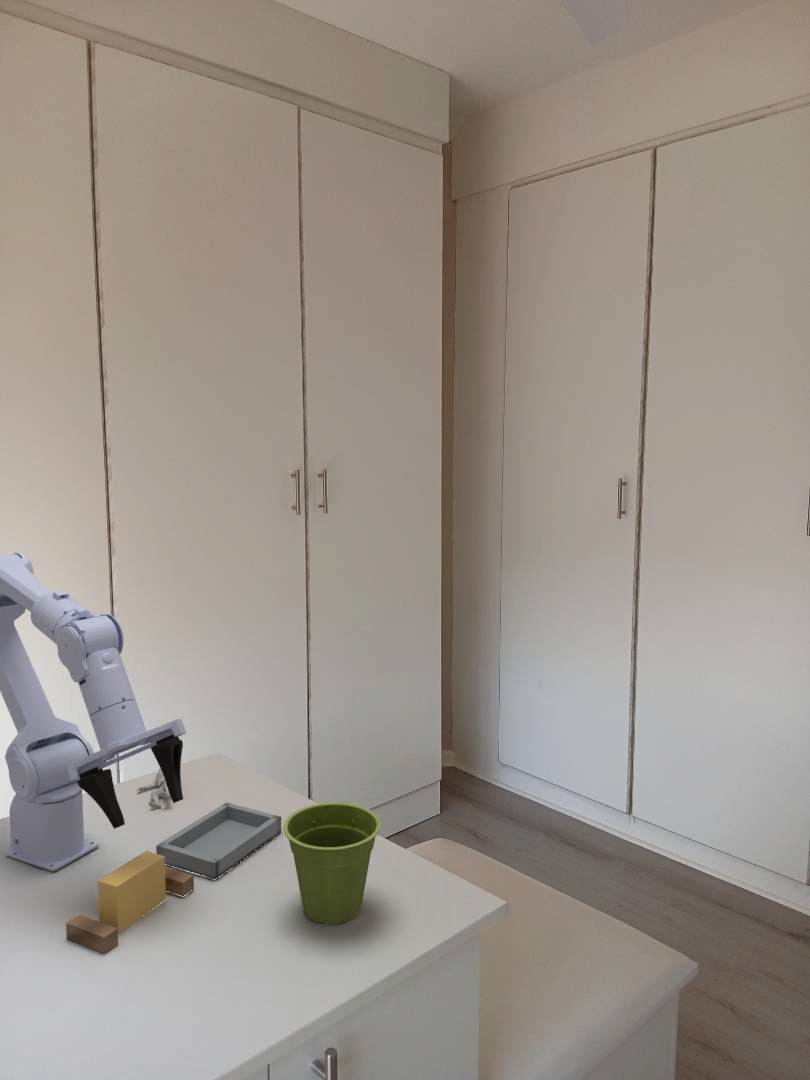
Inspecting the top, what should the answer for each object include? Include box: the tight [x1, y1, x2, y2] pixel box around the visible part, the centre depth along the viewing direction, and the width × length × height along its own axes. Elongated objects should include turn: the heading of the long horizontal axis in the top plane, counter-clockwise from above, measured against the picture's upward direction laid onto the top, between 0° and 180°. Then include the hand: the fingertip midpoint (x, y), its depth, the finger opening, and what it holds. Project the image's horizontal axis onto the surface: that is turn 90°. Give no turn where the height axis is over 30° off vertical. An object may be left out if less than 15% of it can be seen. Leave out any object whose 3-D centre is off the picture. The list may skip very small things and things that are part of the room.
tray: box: [155, 802, 282, 879], centre depth 120 cm, size 10×15×2 cm, turn 153°
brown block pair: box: [65, 866, 195, 955], centre depth 103 cm, size 6×15×2 cm, turn 153°
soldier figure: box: [136, 767, 172, 810], centre depth 137 cm, size 8×5×12 cm
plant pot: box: [282, 802, 382, 925], centre depth 104 cm, size 12×12×11 cm
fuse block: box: [97, 850, 167, 935], centre depth 103 cm, size 3×8×6 cm, turn 154°
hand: (149, 814), depth 103 cm, fingers open, 7 cm apart
